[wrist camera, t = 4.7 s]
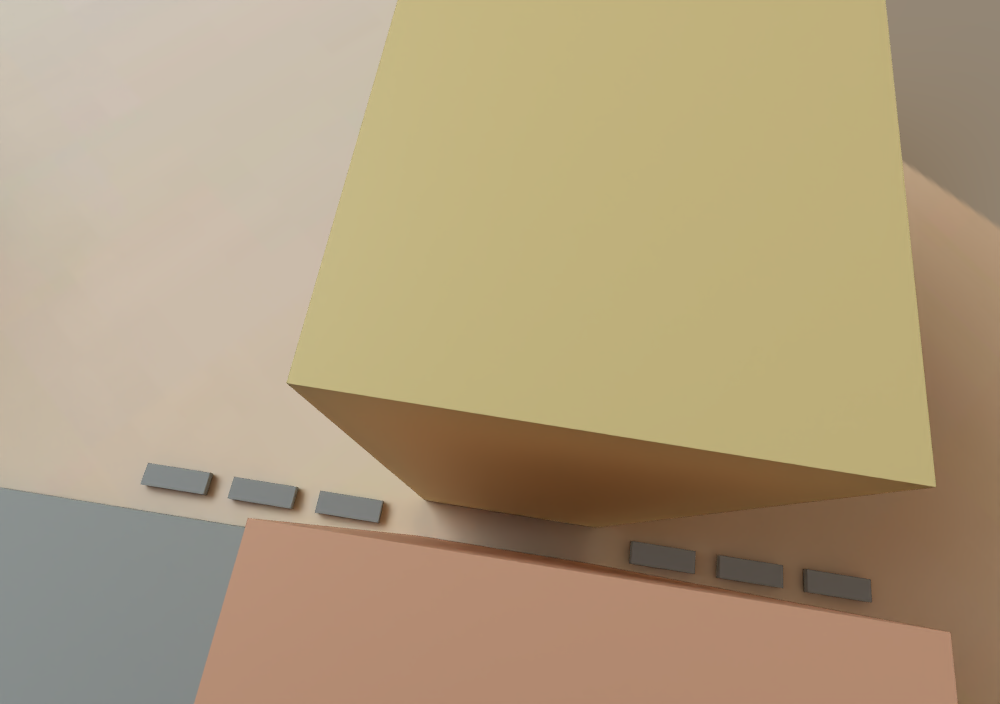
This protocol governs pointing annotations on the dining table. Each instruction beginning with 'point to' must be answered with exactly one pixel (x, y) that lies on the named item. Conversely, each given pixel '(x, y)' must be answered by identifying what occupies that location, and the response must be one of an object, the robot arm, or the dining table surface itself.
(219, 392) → the dining table surface
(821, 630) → the stub
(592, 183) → the block
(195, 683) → the coaster
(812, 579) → the perforation marks
